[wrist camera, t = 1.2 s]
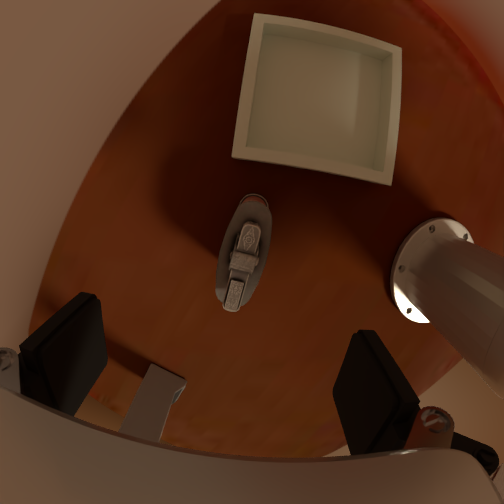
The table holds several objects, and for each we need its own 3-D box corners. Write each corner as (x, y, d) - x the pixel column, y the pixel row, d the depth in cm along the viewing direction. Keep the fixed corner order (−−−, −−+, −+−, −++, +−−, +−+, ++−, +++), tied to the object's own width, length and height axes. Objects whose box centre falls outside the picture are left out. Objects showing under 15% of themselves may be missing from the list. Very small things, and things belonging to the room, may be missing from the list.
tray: (387, 58, 22) (401, 48, 19) (376, 183, 26) (391, 185, 23) (254, 29, 22) (254, 13, 19) (234, 158, 26) (231, 157, 22)
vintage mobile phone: (177, 395, 34) (128, 564, 10) (143, 379, 33) (72, 541, 9) (187, 379, 33) (136, 564, 9) (151, 361, 32) (73, 538, 8)
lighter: (239, 189, 27) (230, 199, 17) (274, 198, 27) (285, 214, 17) (219, 268, 29) (202, 316, 19) (252, 276, 29) (250, 328, 19)
